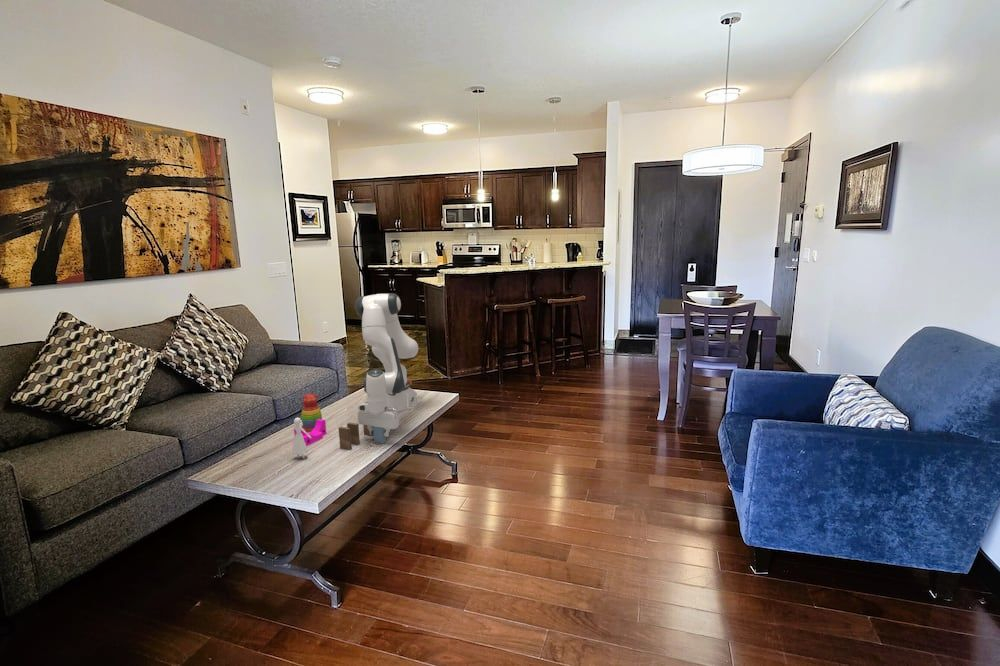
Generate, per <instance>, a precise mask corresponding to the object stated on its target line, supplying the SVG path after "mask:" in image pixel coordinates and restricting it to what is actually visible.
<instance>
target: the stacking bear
mask: <svg viewBox="0 0 1000 666" xmlns="http://www.w3.org/2000/svg"><path fill="white" fill-rule="evenodd" d="M318 400H319V399H318V394H316V393H315V394H311V393H308V394H307V395H306V394H304V395H303V396H302V402H303V405H304V406H303V407H302V410H301V418H300V419H301V424H302V425H301V426H302V428H303V429H305V431H306V433H310V432H311V431H312V430H313V429H314V427H315V425H316V420H318V419H322V418H323V417H322V416H323V414H322V411H321V408H320V406H319V405H318Z"/></svg>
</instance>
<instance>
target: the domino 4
mask: <svg viewBox="0 0 1000 666" xmlns="http://www.w3.org/2000/svg"><path fill="white" fill-rule="evenodd" d="M373 430H374V436H373V441H374V443H379V444H385V443H386V442H387V441H386V437H384V433H385V432H386V430H385V428H382V427H375V426H373Z"/></svg>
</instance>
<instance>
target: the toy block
mask: <svg viewBox="0 0 1000 666" xmlns="http://www.w3.org/2000/svg"><path fill="white" fill-rule="evenodd" d="M326 423H327V422H326V419H318V420H316V425H315V427H314V429H313V430H312V431H311V432H306V433H307V434H308V435H309V436H311V438H310V437H309V436H308V435H307V434H306V433H304V432H303V431H302V430H301V433H302V435H303V438H304V441H305V444H306V447H308V446H310V445H312V444H314V443H316V442H318V441H320V440H322V439H324V436H325V435H327V427H326V426H327V425H326ZM304 430H305V429H304ZM293 433H294V436H295V435H296V433H297V432H296V430H295V429H294V430H293Z"/></svg>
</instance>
